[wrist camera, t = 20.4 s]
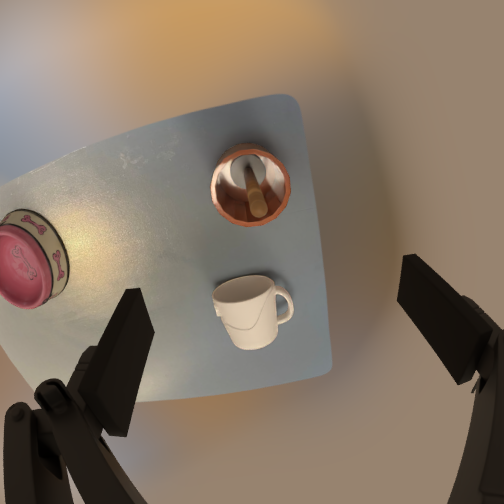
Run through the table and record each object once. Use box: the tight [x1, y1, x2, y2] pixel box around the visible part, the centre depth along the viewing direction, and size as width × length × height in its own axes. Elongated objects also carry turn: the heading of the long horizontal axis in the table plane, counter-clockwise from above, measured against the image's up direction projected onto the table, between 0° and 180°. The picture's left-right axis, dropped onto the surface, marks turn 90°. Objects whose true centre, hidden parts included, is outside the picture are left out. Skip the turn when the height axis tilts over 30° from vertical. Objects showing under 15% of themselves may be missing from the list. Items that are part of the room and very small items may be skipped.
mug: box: [212, 275, 294, 350], centre depth 49 cm, size 12×9×8 cm
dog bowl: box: [0, 210, 69, 309], centre depth 44 cm, size 18×19×7 cm
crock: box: [210, 143, 291, 227], centre depth 40 cm, size 9×9×10 cm
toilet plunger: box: [230, 154, 268, 218], centre depth 34 cm, size 5×5×21 cm
